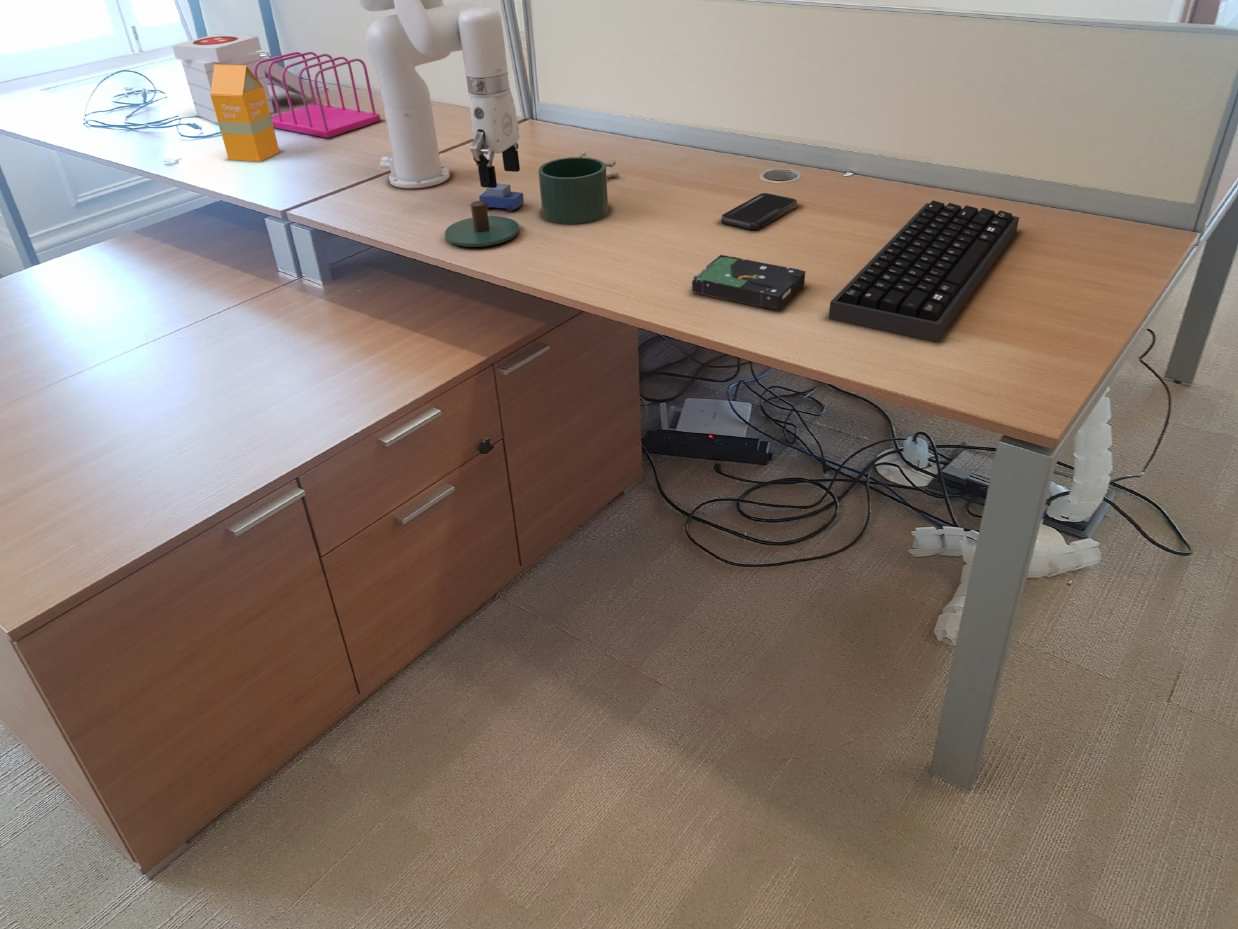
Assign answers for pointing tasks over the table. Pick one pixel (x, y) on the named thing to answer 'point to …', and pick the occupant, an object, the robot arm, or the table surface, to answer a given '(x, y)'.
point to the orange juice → (242, 113)
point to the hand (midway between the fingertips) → (500, 178)
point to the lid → (481, 228)
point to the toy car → (502, 197)
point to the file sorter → (319, 116)
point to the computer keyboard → (926, 271)
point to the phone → (759, 211)
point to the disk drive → (749, 282)
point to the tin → (573, 190)
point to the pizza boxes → (228, 50)
